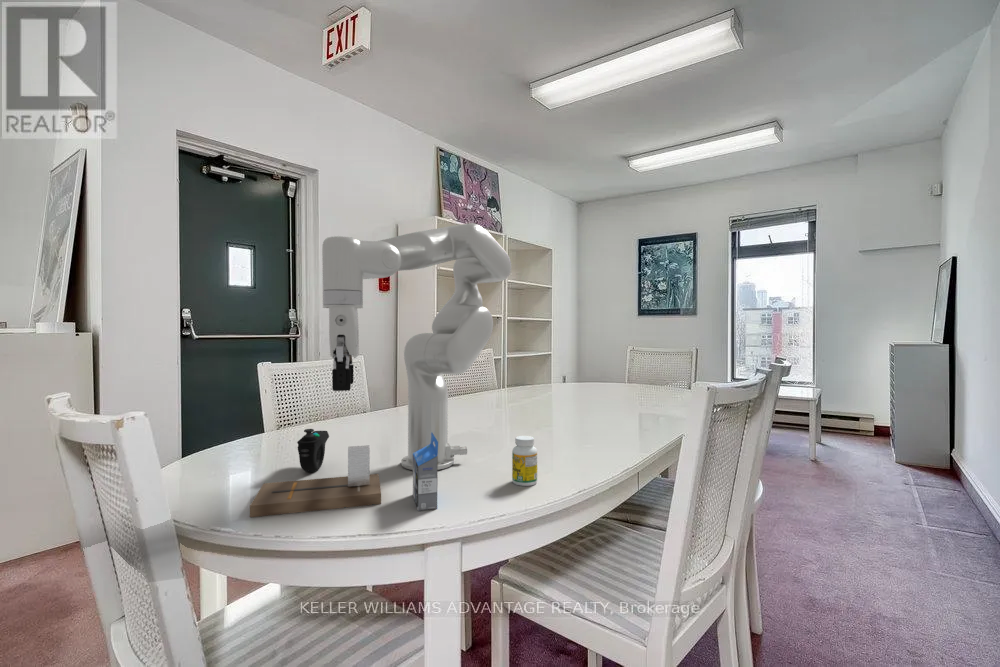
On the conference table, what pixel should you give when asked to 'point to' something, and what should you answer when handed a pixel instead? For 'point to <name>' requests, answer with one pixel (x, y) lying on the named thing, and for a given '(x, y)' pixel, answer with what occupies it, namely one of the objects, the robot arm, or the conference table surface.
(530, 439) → the supplement bottle
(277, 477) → the conference table surface
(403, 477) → the conference table surface
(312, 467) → the controller
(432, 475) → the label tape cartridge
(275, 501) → the fader console
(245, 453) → the conference table surface
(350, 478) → the fader tab
